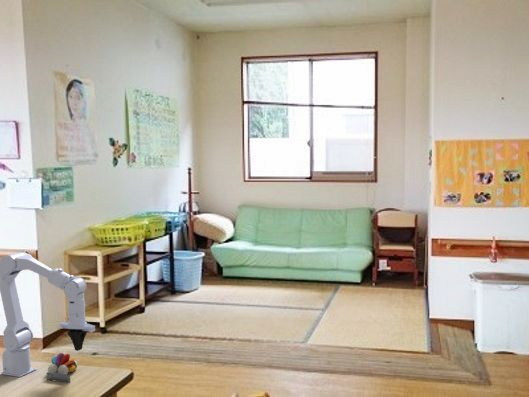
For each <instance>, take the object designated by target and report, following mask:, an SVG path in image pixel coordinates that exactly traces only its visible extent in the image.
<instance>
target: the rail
mask: <svg viewBox="0 0 529 397" xmlns="http://www.w3.org/2000/svg"><path fill="white" fill-rule="evenodd" d="M47 379H49V380H48V381H53V380H55V381H54V382H60V383H66V384H70V383H71V375H70V374H67V375H65V374H59V373H53V372H48V371H47V372H46V380H47Z"/></svg>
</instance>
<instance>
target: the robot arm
mask: <svg viewBox="0 0 529 397" xmlns="http://www.w3.org/2000/svg"><path fill="white" fill-rule="evenodd" d="M25 270H29V271H31V272H33V273H36V274H37V275H39V276H42V277H45V278H47V283H49V284H51V285H52V286H54V287H57V288H58V289H60V290H62V291H63V293H64V295H65V296H66V300H67V315H68V316H67V317H68V321H62V322H60V323H59V328H60V329H67V330H69V331H67V332H66V334H67V335H68V336H69V338H70V340H71V342H72V345H73V348H74V351H76V352H77V351H78V352H79V351H81V350H83V345H84V341H85V338H86V336H87V333H88V332H89V333H93V332H95V331H96V325H94V324H90V323H88V322H87V321H86V302H85V292H86V290H87V287H88V286H87V285H88V283H87V281H86V279H84V278H82V277H81V276H77V277H76V276H74V274H69V273H67V272H65V271H64V269H63V268H54V269H52V268H50V267H49V266H47V265H46V264H44V263H43V262H41V261H39V260H38V259H36V258H34V257H33V256H32V254H29V253H27V252H25V251H18V252H16V253H11V254H6V255H3V256H1V258H0V297H1V301H2V305H3V310H4V316H5V319H6V320H5V321H6V327H5V329H4V330H3V331H2V332H3V333H2V334H3V339H2V340H3V341H2V343H3V347H4V351H3V352H2V356H1V359H2V360H1V361H2V372H1V373H0V374H1V375H5V376H10V377H11V376H12V377H19V378H20V377H21V378H22V377H23V376H25V375H28V374H30V373H33V372H34V371H36V370H37V368H36V367H32V364H31V350H30V348H31V347H30V346H31V342H32V341H33V339H34V333H33V331H32V329H31V328H30V325H29V323H28V322H26V321H25V320H24V317H23V312H22V308H21V303H20V299H19V293H18V289H17V285H16V280H15V279H16V278H17V276H18V275H19V274H20V272H22V271H25Z"/></svg>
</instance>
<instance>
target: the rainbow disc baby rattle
mask: <svg viewBox="0 0 529 397" xmlns="http://www.w3.org/2000/svg"><path fill="white" fill-rule="evenodd" d="M77 368H78V362H77V361H76V360H75V359H74V358H72V359H71V355H70V354H69V353H65V354H64V353H63V352H59V353H58V354H57V355H56V356H52V358H51V364H50V365H49V366H48V369H47V372H53V373H59V374H65V375H69V373H70V372H74V371H76V370H77Z"/></svg>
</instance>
